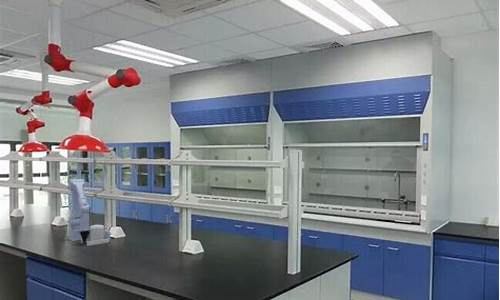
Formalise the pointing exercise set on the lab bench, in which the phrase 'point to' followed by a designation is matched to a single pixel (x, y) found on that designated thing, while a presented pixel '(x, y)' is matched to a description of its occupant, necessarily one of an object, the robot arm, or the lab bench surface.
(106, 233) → the display stand
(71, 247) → the lab bench surface
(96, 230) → the photo printer
